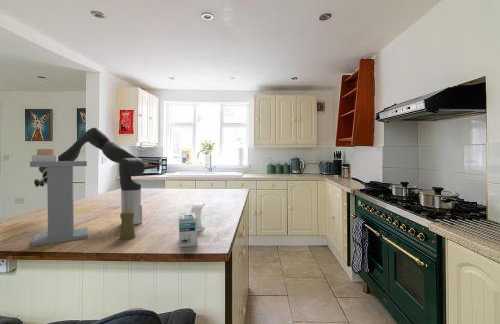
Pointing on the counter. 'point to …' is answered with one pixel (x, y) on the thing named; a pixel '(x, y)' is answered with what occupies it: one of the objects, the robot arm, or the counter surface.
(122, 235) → the cork
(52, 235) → the stand
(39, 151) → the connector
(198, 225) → the headphone stand
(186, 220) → the light bulb box
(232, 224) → the counter surface
